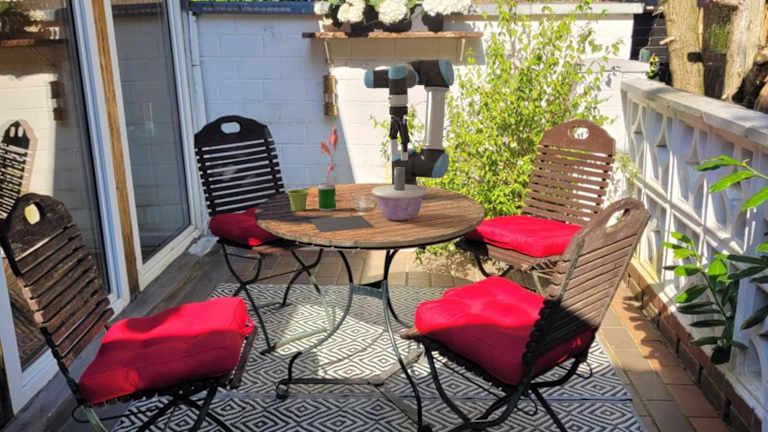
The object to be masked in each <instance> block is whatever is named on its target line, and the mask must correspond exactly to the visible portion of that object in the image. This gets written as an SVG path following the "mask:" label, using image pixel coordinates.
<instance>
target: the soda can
mask: <svg viewBox="0 0 768 432" xmlns="http://www.w3.org/2000/svg"><path fill="white" fill-rule="evenodd" d="M317 191H318V195H317V196H318V209H319V210H320V211H321V212H332V211H335V210H336V209H337V201H336V200H337V197H336V194H337V192H336V185H335V184H334V183H331V182H330V183H329V182H328V183H327V182H323V183H322V182H321V183H320V184H319V185H318V187H317Z"/></svg>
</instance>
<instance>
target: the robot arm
mask: <svg viewBox="0 0 768 432" xmlns="http://www.w3.org/2000/svg"><path fill="white" fill-rule="evenodd" d="M363 74H364V75H363V83H364V84H363V85H364V86H365V87H366V88H367V89H373V90H374V89H388V98H387V100H389V101H388V104H389V108H388V109H389V112H388V114H389V116H390V124H389V132H388V137H389V139H390V155H391V161H390V162H391V184H390V185H394V168H396V167H404V168H405V184H408V185H418V183H417V182H418V181H417V179H418V178H426V179H427V178H429V179H441V178H442V179H443V178H444V177H445V176H446V175H447V172H448V169H449V164H450V156H449V154H448V153H447V152H446V148H445V147H444V145H443V141H444V127H445V125H444V124H445V112H446V111H445V110H446V109H445V108H446V94H447V93H448V92H449V91H450V87H452V86H454V83H455V71H454V67H453V65H452V62H451V61H449V60H448V59H416V60H411V61H407V62H404V63H400V64H398V65H392V66H389V67H387V68H382V69H381V68H380V69H372V70H370V69H368V70H366V71H365V72H364V73H363ZM416 86H424V87H423V89H424V91H425V92H426V106H425V122H424V136H423V137H424V138H423V145H422V146H421V147H420V150H419V151H417V149H416V148H409V144H410V142H411V139H410V134H409V128H408V119H407V118H404V117H405V116H407V115H409V107H408V104H409V94H408V93H409V91H408V90H409V89H412V88H414V87H416ZM398 134H399V137H398ZM399 138H400V143H398V142H399V141H398V139H399ZM398 144H400V149H399V148H398V146H399V145H398ZM398 149H399V150H398Z"/></svg>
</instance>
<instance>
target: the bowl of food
mask: <svg viewBox="0 0 768 432" xmlns="http://www.w3.org/2000/svg"><path fill="white" fill-rule="evenodd" d="M375 197H376V201H377V204H378V208H379V212H380V213H381V215H382V216H383V217H384V218H387V219H388V220H392V221H399V222H400V221H403V222H404V221H408V222H409V221H410V220H411V219H413V218H415V217H416V216H418V215H419V213H420V210H421V205H422V201H423V197H424V195H423V196H419V197H412V198H384V197H378V196H375Z"/></svg>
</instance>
